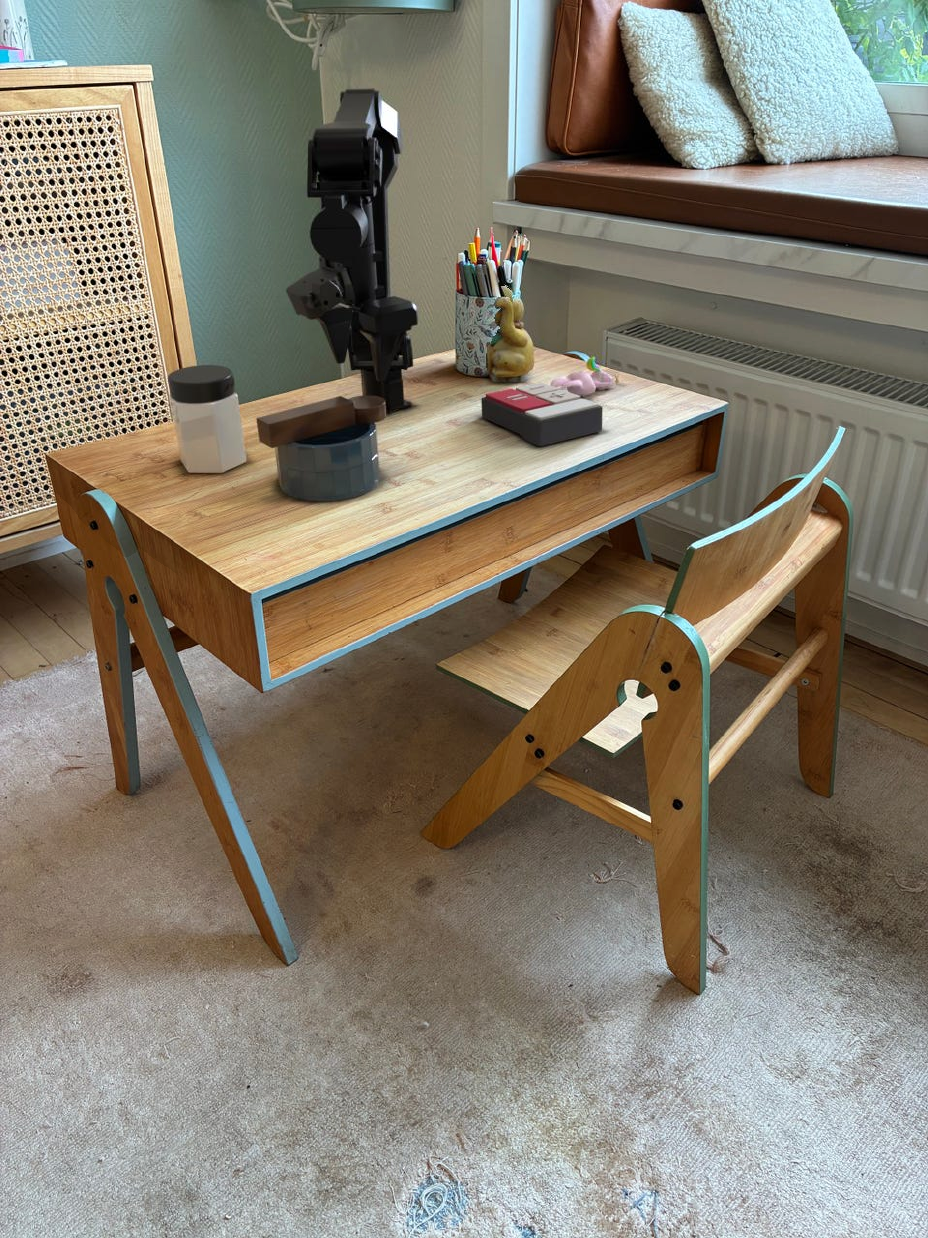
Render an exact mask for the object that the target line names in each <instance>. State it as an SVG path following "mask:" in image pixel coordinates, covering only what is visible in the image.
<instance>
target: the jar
mask: <svg viewBox="0 0 928 1238" xmlns="http://www.w3.org/2000/svg"><path fill="white" fill-rule="evenodd" d="M167 383H168V389H169V390H168V391H169V394H168V396H169V401H170V407H171V413H172V419H173V424H174V430H175V436H176V441H177V447H178V453H179V457H180V459H179V460H180V462H181V464H182V465H183V467H184V468H185V469H186V471H187V473H190V474H223V473H226V472H227V471H230V470H232V469H234V468H237V467H239V466H241V465H243V464H246V463H247V453H246V447H245V440H244V431H243V424H242V418H241V410H240V403H239V395H238V394H237V392H235V391H236V389H235V378H234V374H233V371H232V370H231V368H229V367H227V366H223V365H217V364H199V365H198V364H197V365H191V366H185V367H182V368H179V369H175V370H174V371H172V372H170V373H169V374H168V376H167Z"/></svg>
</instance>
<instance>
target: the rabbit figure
mask: <svg viewBox="0 0 928 1238" xmlns="http://www.w3.org/2000/svg"><path fill="white" fill-rule="evenodd" d="M595 359H596V357H595V356H591V357H589V358H588V359H587V361H586V364H585V365H586V368H587V369H588V370H589V371H591V374H589V373H587V372H586V371H583V370H576V371H573V372H571V373H570V374H568V375H567V376H565V377H556V378H554V379H552V381H551V382H550V384H549V385H550V386H553V387H556V388H558V389H559V390H564V391H565V390H566V391H567V392H570V393H573V394H576V395H579V396H580V398H581V397H583V398H585V397H586V396H589V395H591V394H593V393H595V391H596V389H599V390H603V389H604V390H609V389H611V388H612V387H613V386H614V383H615V385H616V386H618V385H620V380H619V373H618V374H617V375H616V374H615V373H614V374H613V375H610V374H609V373H607V370H605V371H603V370H601V369H600V366H599V365H598V364H596V361H595Z"/></svg>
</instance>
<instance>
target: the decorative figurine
mask: <svg viewBox="0 0 928 1238" xmlns="http://www.w3.org/2000/svg"><path fill="white" fill-rule="evenodd" d="M506 286H507V285H505V286H501V289H502V292H503V295H504V297H498V298H497V299H496V300H495V302H494V306H495V308H496V309H498V308H501V309H500V310H499V311H498V312H497V313H496V314H495V317H494V319H495V323H496V324H497V326H499V327H500V329H498V330H497V334H496V335H495V336H493V339H492V341H491V346H489V345H488V347H487V353H486V367H485V369H486V368H487V370H486V372H487V373H488V374H489V377H490V378H491V381H492V382H493V383H517V382H518V383H522V382H523V380H522V376H524V375H527V374H529V373H530V371H532V370H533V369H534V366H535V347H534V343H533V340H532V338H531V336H530V335H529V334H528V332H527V331H526V330H525V329H524V323H523V322H522V321H521V320H522V319H523V316H524V311H525V309H524V308H525V307H524V306H525V305H524V303H523V301H522V299H521V298H520V297H519V296H518V297H519V303H518V297H517V298H516V299H515V300H514V301H513V297H512V296H513V294H514V292H513V290H512V289H511V288H510V287H509V288H510V289H511V290H510V289H509V288H507V287H508V286H507V287H506ZM506 297H509V298H510V299H508V298H506Z"/></svg>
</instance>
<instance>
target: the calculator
mask: <svg viewBox="0 0 928 1238" xmlns="http://www.w3.org/2000/svg"><path fill="white" fill-rule="evenodd" d="M550 385H551V384H548V383H544V382H542V381H541V382H536V383H535V382H534V383H530V384H525V385H521V386H517V387H515V389H514V388H508V389H502V390H498V391H493V392H488V393H485V396H483V397H481V400H480V401H481V418H483V419H485V420H487V421H490V422H491V423H494V424H495V425H499V426H501V427H502V428H503V427H504V428H505V429H507V430H510V431H511V432H514V433H517V434H519V435H520V436H521V437H522V439H523V441H526V442H527V443H530V444H532V445H535V446H536V447H544V446H548V445H552V444H556V443H560V442H565V441H568V440H571V439H576V438H580V437H584V436H588V435H592V434H596V433H600V432H602V431H603V412H604V411H603V409H604V408H603V406H602V405H601V404H599V403H597V402H594V401H592V400H589V399H587V398H581V397H580V396H579V395H576V394H573V393H570V392H569V391H568V390H565V389H564V390H559V387H553V386H550Z"/></svg>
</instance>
